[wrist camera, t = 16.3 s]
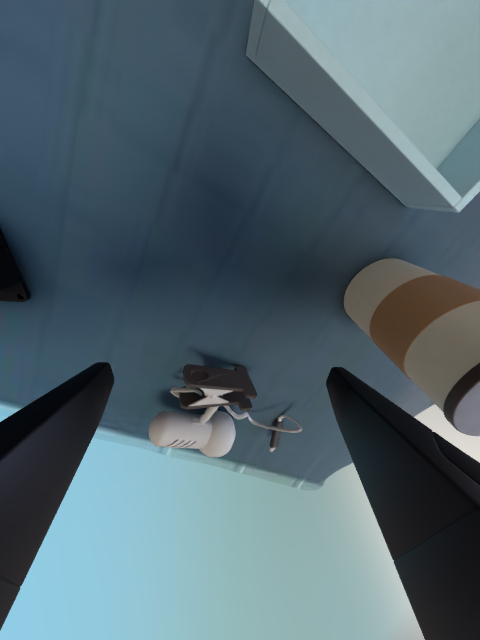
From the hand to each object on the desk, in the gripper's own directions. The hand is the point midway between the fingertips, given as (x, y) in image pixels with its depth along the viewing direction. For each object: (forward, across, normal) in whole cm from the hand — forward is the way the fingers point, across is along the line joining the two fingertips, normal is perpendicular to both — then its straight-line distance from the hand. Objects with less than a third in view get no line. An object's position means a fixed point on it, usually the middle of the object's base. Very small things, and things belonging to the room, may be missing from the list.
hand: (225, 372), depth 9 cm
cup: (+12, -15, +1) cm, 19 cm away
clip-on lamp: (+12, -2, +17) cm, 21 cm away
